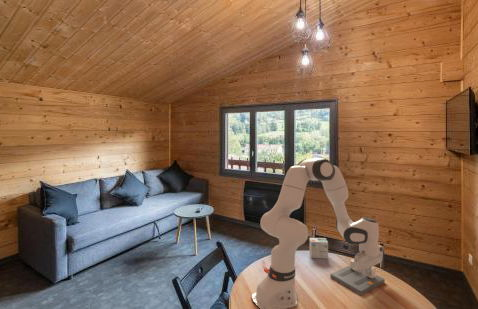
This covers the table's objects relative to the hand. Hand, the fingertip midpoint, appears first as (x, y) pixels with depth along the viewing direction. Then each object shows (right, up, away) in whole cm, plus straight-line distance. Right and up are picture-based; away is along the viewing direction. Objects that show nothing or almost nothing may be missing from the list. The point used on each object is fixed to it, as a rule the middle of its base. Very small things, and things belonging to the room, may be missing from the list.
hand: (367, 274), depth 133 cm
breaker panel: (-4, -4, +3) cm, 6 cm away
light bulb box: (-17, -2, +29) cm, 33 cm away
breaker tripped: (+2, -2, +2) cm, 3 cm away
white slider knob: (-3, -1, +9) cm, 10 cm away
